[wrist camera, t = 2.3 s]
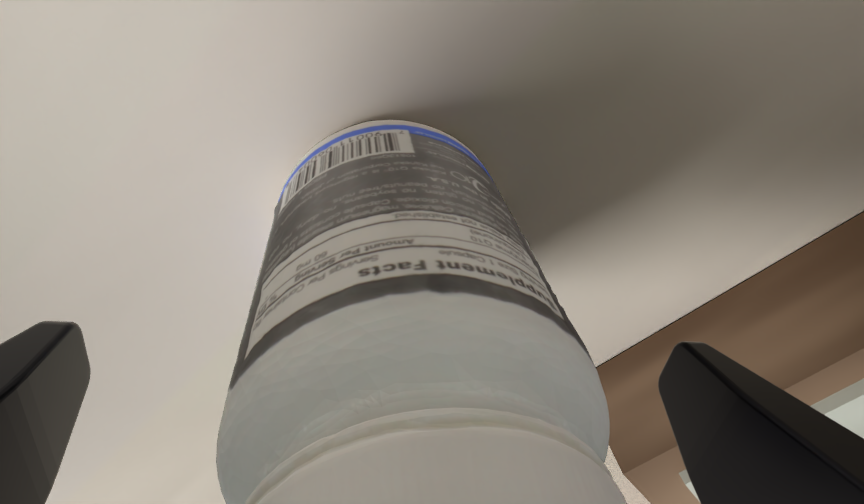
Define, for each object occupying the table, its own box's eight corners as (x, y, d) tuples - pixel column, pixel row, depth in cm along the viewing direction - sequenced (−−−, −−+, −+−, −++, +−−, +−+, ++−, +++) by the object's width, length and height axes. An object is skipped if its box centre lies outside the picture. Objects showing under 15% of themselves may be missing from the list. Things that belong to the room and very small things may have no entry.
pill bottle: (458, 322, 13) (578, 785, 6) (262, 290, 12) (135, 820, 5) (531, 145, 11) (851, 557, 4) (298, 84, 10) (159, 522, 3)
